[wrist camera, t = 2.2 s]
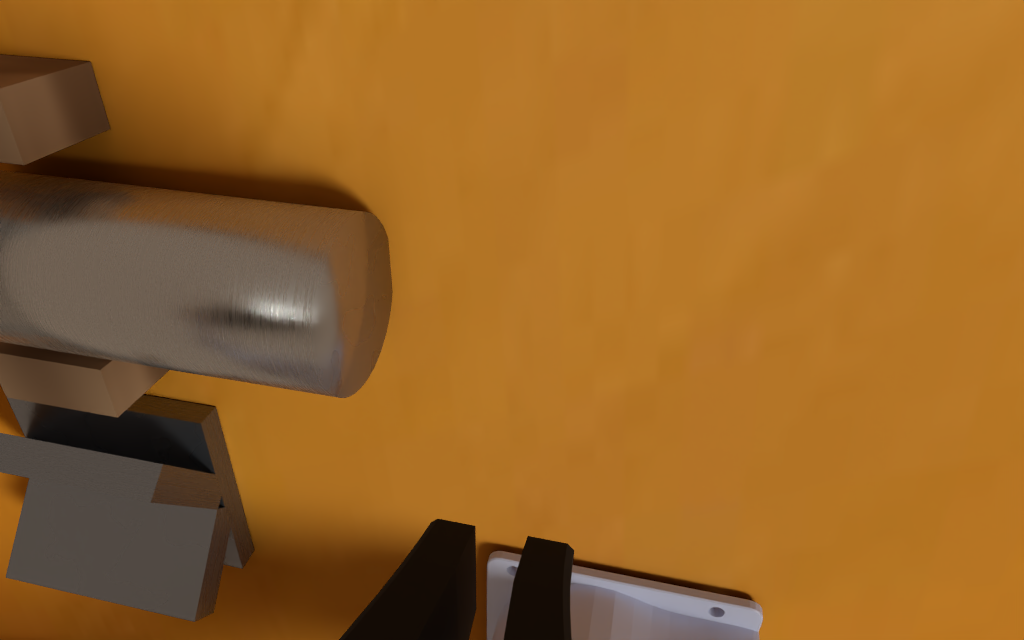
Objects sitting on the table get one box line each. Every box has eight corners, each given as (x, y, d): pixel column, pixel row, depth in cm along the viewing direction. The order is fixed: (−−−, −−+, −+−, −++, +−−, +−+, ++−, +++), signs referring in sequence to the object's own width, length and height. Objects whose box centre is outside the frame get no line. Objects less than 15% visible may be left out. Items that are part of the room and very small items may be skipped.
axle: (383, 180, 18) (299, 274, 15) (399, 326, 21) (332, 437, 17) (-1, 140, 20) (-161, 213, 17) (60, 277, 23) (-65, 367, 20)
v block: (215, 406, 24) (144, 485, 21) (254, 551, 29) (199, 634, 25) (22, 373, 26) (-73, 441, 23) (85, 515, 30) (13, 590, 27)
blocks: (90, 61, 18) (-4, 89, 16) (178, 361, 24) (117, 417, 21) (-36, 51, 19) (-145, 76, 17) (76, 345, 24) (6, 397, 22)
